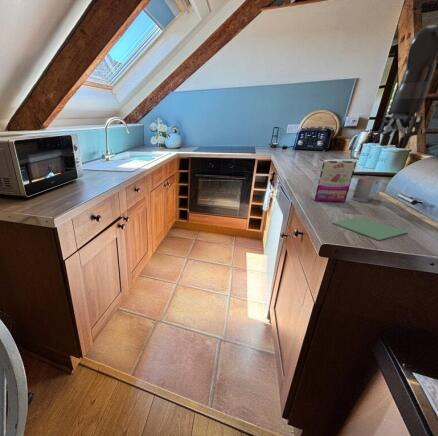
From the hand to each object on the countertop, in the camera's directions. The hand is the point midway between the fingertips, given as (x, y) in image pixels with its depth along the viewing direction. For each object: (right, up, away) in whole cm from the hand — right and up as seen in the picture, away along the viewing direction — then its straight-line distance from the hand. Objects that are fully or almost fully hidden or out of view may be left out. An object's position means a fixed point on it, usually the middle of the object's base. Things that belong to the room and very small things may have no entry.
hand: (391, 147), depth 89 cm
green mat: (-21, -29, -14) cm, 39 cm away
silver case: (0, -18, +12) cm, 22 cm away
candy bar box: (-15, -19, +12) cm, 27 cm away
